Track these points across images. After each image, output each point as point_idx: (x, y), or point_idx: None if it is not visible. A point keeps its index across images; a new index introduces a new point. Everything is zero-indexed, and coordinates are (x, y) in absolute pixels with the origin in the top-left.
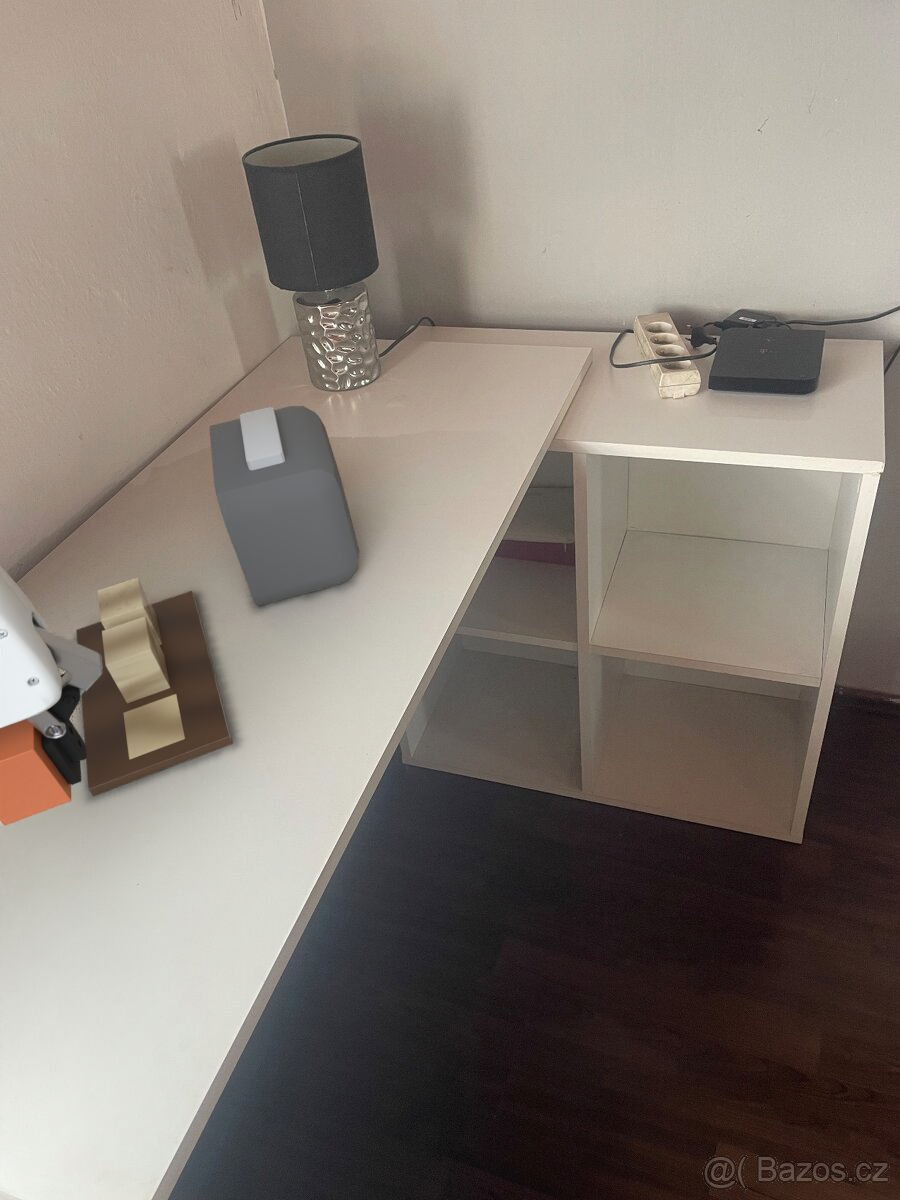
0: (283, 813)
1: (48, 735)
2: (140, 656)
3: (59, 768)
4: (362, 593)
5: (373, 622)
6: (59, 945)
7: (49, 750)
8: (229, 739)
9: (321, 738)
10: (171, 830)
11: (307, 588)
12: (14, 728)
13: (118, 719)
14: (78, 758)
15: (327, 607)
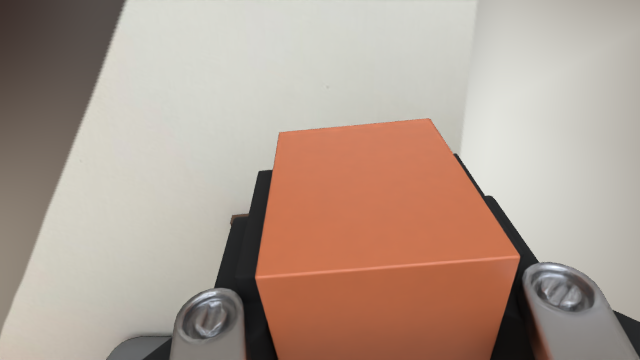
0: (167, 120)
1: (237, 305)
2: None
3: None
4: (118, 322)
5: (101, 294)
6: (417, 39)
7: (255, 258)
8: (231, 219)
9: (136, 193)
10: None
11: (161, 342)
12: (336, 356)
13: None
14: (242, 221)
15: (151, 319)
